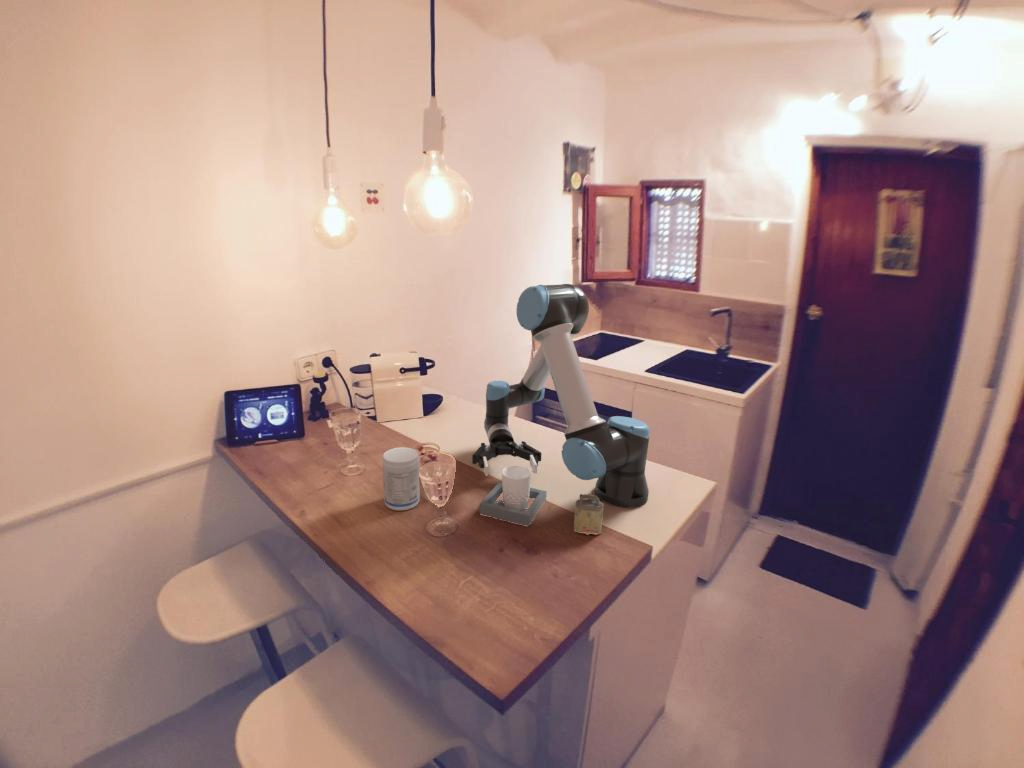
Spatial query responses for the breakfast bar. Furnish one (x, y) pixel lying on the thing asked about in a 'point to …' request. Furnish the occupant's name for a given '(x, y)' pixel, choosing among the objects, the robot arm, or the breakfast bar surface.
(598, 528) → the lighter
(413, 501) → the supplement tub
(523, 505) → the white cup
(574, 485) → the breakfast bar surface
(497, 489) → the slate coaster tray
